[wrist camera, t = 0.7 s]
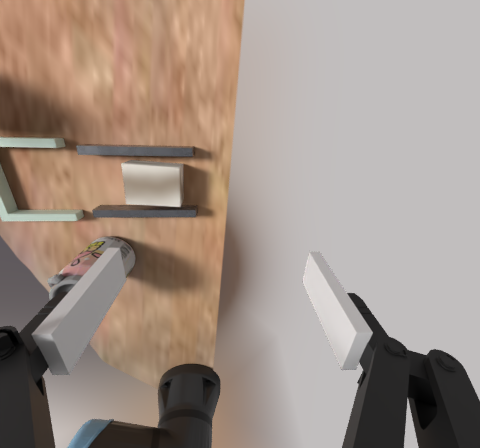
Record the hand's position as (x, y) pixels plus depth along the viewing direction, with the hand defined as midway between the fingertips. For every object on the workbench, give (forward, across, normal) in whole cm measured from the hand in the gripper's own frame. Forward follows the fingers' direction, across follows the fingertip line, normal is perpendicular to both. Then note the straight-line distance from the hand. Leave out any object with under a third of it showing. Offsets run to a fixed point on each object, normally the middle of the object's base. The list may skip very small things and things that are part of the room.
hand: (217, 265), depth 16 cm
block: (+24, +10, +1) cm, 26 cm away
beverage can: (+23, +20, +15) cm, 34 cm away
